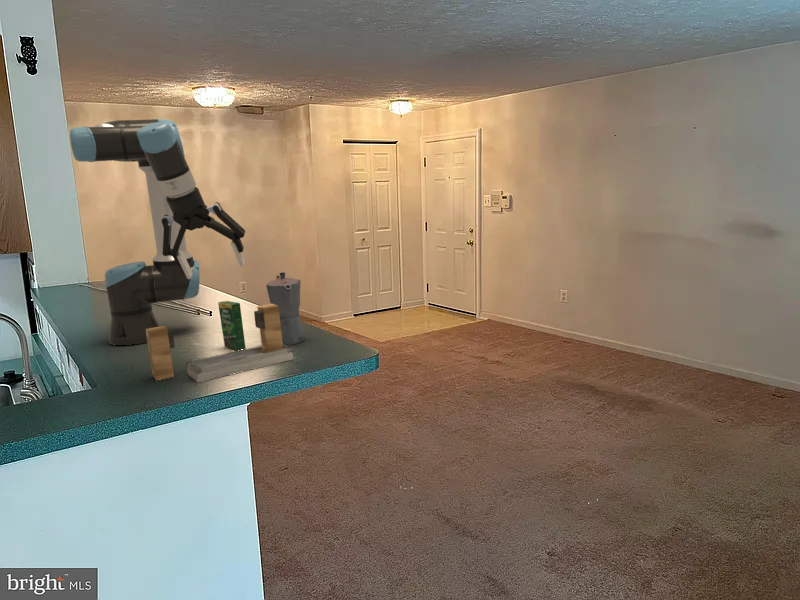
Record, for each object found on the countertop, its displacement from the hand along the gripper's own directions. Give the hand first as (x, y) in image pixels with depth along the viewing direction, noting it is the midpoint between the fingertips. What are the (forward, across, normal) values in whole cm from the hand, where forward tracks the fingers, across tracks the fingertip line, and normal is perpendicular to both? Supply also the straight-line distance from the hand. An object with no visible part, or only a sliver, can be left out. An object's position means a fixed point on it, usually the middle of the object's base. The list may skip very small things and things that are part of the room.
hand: (216, 270), depth 145 cm
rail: (+21, +1, -14) cm, 25 cm away
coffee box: (+27, -6, +4) cm, 28 cm away
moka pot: (+30, +8, +7) cm, 32 cm away
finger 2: (+22, +8, -9) cm, 25 cm away
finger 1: (+17, -17, -16) cm, 29 cm away
